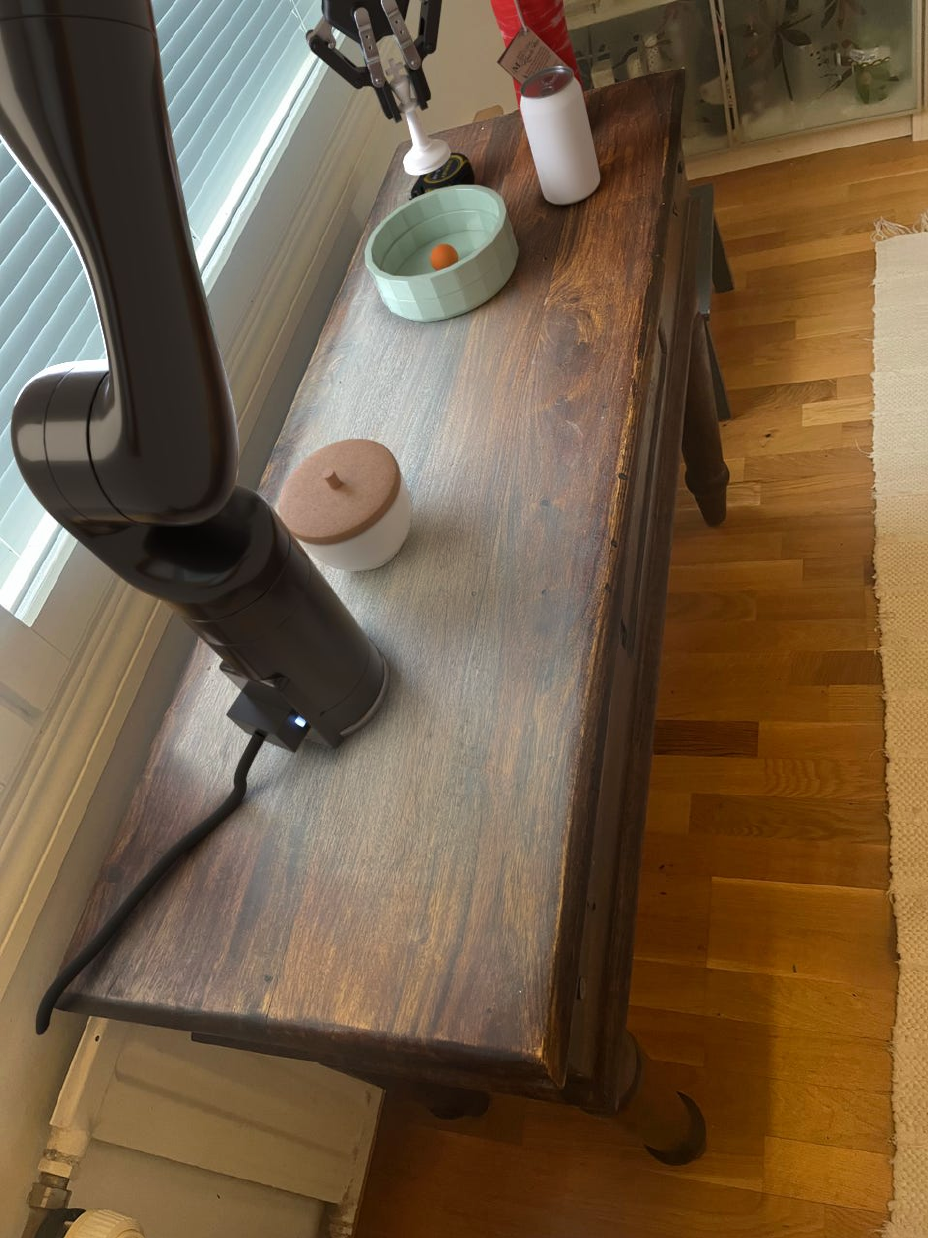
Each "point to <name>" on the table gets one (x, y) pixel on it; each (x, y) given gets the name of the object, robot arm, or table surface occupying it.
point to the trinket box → (348, 505)
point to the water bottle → (533, 39)
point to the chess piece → (416, 129)
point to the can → (559, 135)
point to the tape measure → (445, 176)
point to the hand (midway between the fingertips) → (410, 111)
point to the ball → (443, 256)
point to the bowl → (428, 221)
